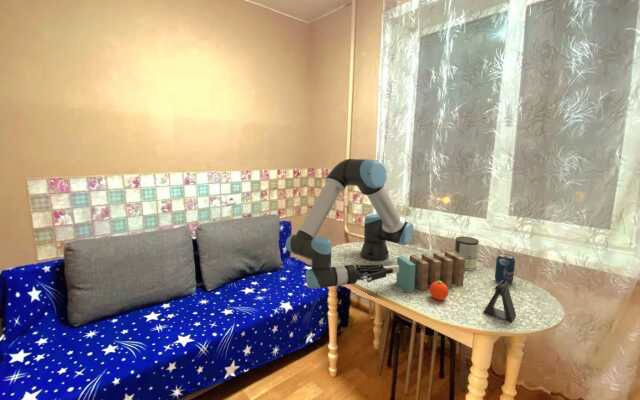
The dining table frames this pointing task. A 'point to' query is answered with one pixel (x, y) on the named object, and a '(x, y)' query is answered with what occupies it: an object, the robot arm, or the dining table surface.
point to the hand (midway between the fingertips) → (398, 268)
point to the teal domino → (406, 274)
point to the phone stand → (507, 303)
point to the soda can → (505, 268)
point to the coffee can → (467, 251)
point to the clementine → (438, 290)
